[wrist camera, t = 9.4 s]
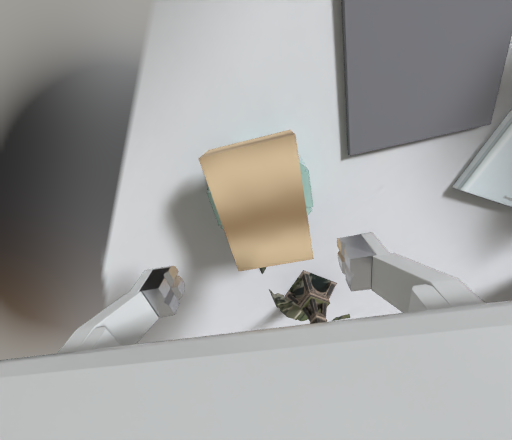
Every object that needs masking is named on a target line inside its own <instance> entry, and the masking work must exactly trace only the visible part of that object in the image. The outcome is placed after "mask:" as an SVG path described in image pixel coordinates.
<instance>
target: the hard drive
mask: <svg viewBox="0 0 512 440" xmlns="http://www.w3.org/2000/svg"><path fill="white" fill-rule="evenodd" d="M453 188H456V189H458V190H461V191H464V192H467V193H470V194H473V195H476V196H479V197H482V198H485V199H488V200H491V201H494V202H497V203H501V204H503V205H507V206H510V207H512V109H511V111H510V112H509V113H508V114H507V116H506V117H505V118H504V120H503V121H502V122H501V124H500V125H499V126H498V128H497V129H496V130H495V132H494V133H493V134H492V135H491V137H490V138H489V139H488V141H487V142H486V143H485V145H484V146H483V147H482V149H481V150H480V151H479V152H478V154H477V155H476V156H475V158H474V159H473V160H472V162H471V163H470V164H469V166H468V167H467V168H466V170H465V171H464V172H463V173H462V175H461V176H460V177H459V179H458V180H457V181H456V183H455V184H454V185H453Z"/></svg>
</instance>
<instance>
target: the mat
mask: <svg viewBox="0 0 512 440" xmlns="http://www.w3.org/2000/svg"><path fill="white" fill-rule="evenodd" d="M342 18H343V42H344V66H345V90H346V114H347V137H348V155H350V156H351V155H356V154H360V153H364V152H369V151H373V150H378V149H382V148H387V147H391V146H396V145H400V144H405V143H409V142H414V141H418V140H423V139H427V138H431V137H436V136H440V135H445V134H449V133H454V132H458V131H463V130H467V129H472V128H476V127H481V126H485V125H490V124H491V120H492V115H493V111H494V107H495V103H496V98H497V94H498V90H499V86H500V82H501V77H502V73H503V69H504V65H505V61H506V56H507V52H508V48H509V44H510V40H511V35H512V0H342Z"/></svg>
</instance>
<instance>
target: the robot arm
mask: <svg viewBox="0 0 512 440" xmlns="http://www.w3.org/2000/svg"><path fill="white" fill-rule="evenodd" d="M337 246H338V248H339V250H340V251H339V252H338V260H339V265H340V268H341V270H342V273H344V274H345V275H346V281H347V284H348V286H349V288H350V290H351V291H358V290H367V289H372V291H374V292H375V293H376V294H378V295H379V296H381V297H382V298H383V299H385V300H386V301H388V302H389V303H390V304H392V305H393V306H394V307H396V308H397V309H399V310H400V311H401V312H403V313H399V314H390V315H382V316H373V317H365V318H356V319H348V320H339V321H331V322H322V323H314V324H305V325H296V326H288V327H279V328H270V329H262V330H253V331H245V332H236V333H228V334H219V335H211V336H202V337H194V338H185V339H176V340H168V341H159V342H151V343H142V344H136V343H137V342H138V341H139V340H140V339H141V338H142V336H143V335H144V334H145V333H146V332H147V331H148V330H149V329H150V328H151V327H152V325H153V324H154V323H155V322H156V321H157V320H158V319H159V317H165V316H171V315H175V313H176V311H177V308H178V306H179V304H180V303H179V301H178V300H179V299H180V298H181V297H182V296H183V294H184V289H185V285H184V281H183V279H182V278H181V277H180V276H178V270H177V268H176V267H175V266H168V267H161V268H155V269H148V270H145V271H144V272H143V273H142V275H141V276H140V278H139V279H138V280H137V282H136V283H135V285H134V286H133V288H132V289H131V290H130V292H129V293H128V294H125V295H123V296H122V297H121V298H119V299H118V300H116V301H115V302H114V303H112V304H111V305H110V306H108V307H107V308H105V309H104V310H103V311H101V312H100V313H98V314H97V315H96V316H94V317H93V318H92V319H90V320H89V321H87V322H86V323H85V324H83V325H82V326H80V327H79V328H78V329H76V331H75V332H74V333H73V334H72V335H71V337H70V338H69V339H68V340H67V342H66V343H65V344H64V345H63V346H62V348H61V349H60V350H59V351H58V353H56V354H48V355H39V356H31V357H22V358H14V359H6V360H0V440H512V300H510V301H501V302H493V303H484V302H483V301H482V300H481V299H480V298H479V297H478V296H477V295H476V294H475V293H474V292H473V291H472V290H470V289H469V288H468V287H467V286H466V285H465V284H464V283H463V282H462V281H461V280H460V279H458V278H455V277H453V276H450V275H448V274H445V273H443V272H440V271H438V270H435V269H433V268H430V267H428V266H425V265H423V264H420V263H418V262H415V261H413V260H410V259H408V258H405V257H403V256H401V255H398V254H396V253H390V252H389V251H388V250H387V249H386V248H385V246H384V245H383V244H382V243H381V242H380V240H379V239H378V238H377V237H376V236H375V234H374V233H373V232H368V233H363V234H360V235H354V236H348V237H342V238H337Z"/></svg>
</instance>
